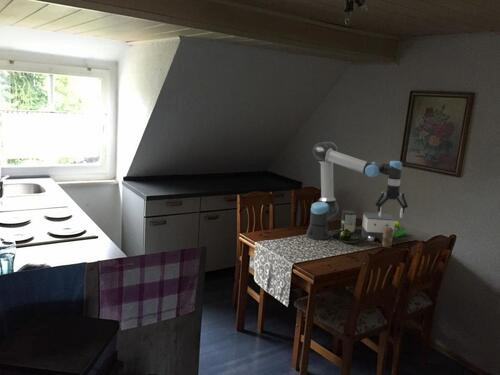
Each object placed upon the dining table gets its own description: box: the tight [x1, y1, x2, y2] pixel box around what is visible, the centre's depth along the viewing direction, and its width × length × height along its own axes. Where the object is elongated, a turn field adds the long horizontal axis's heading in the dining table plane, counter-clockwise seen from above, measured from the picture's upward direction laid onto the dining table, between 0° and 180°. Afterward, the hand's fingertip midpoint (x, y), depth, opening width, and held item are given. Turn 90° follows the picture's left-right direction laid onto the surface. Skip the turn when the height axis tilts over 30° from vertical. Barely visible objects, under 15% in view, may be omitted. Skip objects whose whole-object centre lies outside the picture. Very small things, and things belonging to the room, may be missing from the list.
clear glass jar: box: [340, 209, 357, 233], centre depth 308 cm, size 10×10×14 cm
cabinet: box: [360, 211, 397, 240], centre depth 289 cm, size 19×16×17 cm
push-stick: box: [379, 227, 394, 248], centre depth 282 cm, size 5×15×12 cm, turn 176°
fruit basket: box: [393, 219, 407, 238], centre depth 302 cm, size 11×9×11 cm
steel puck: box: [367, 235, 376, 242], centre depth 288 cm, size 4×4×3 cm
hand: (390, 217), depth 274 cm, fingers open, 13 cm apart
